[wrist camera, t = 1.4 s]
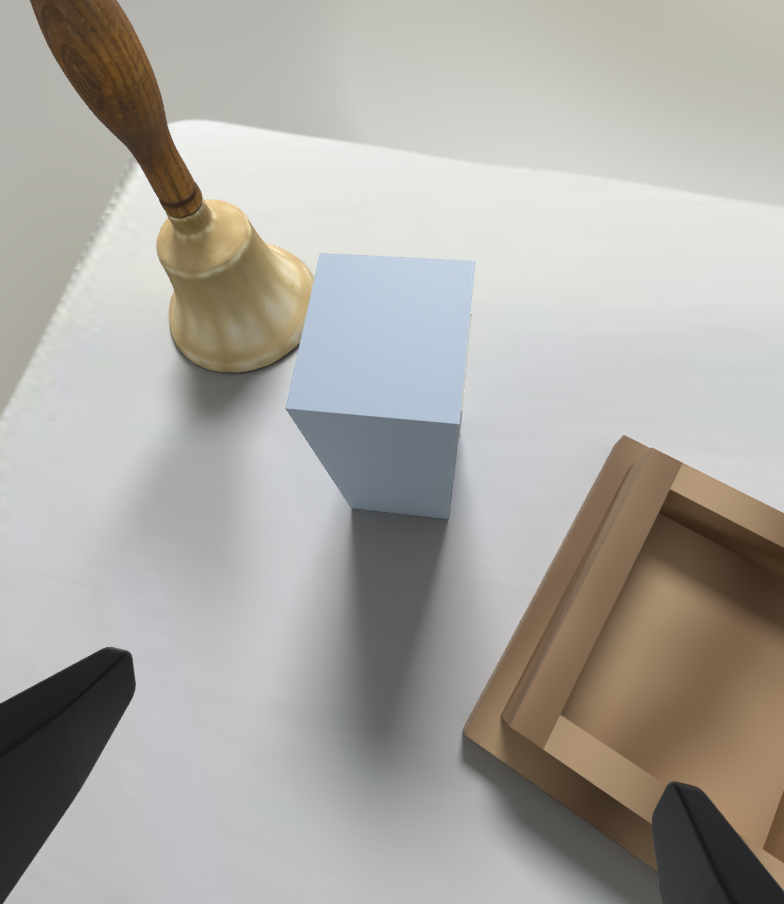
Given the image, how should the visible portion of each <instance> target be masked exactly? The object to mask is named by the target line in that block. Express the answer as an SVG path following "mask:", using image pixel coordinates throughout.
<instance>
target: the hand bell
mask: <svg viewBox="0 0 784 904" xmlns="http://www.w3.org/2000/svg"><path fill="white" fill-rule="evenodd" d="M30 2H31V4H32V7H33V10H34V12H35V15H36V18H37V21H38V23H39V26H40V28H41V31H42V33H43V35H44V37H45V40H46V42H47V44H48V46H49V48H50V50H51V52H52V54H53V56H54V57H55V59H56V61H57V62H58V64H59V65H60V67H61V69H62V70H63V72H64V74H65V75H66V77H67V78H68V79H69V81H70V83H71V84H72V86H73V87H74V89H75V90H76V91H77V93H78V94H79V95H80V97H81V98H82V99H83V101H84V102H85V103H86V105H87V106H88V107H89V109H90V110H91V111H92V112H93V113H94V115H95V116H96V117H97V118H98V119H99V120H100V121H101V122H102V123H103V124H104V125H105V126H106V127H107V128H108V129H109V130H110V131H111V132H112V133H113V134H114V135H115V136H116V137H117V138H118V139H119V140H120V141H121V142H122V143H123V144H125V146H127V148H128V149H129V150H130V152H131V153H132V154H133V156H134V157H135V158H136V160H137V162H138V163H139V165H140V166H141V168H142V170H143V172H144V174H145V175H146V177H147V179H148V181H149V183H150V184H151V186H152V188H153V190H154V192H155V193H156V195H157V196H158V198H159V201H160V203H161V205H162V207H163V208H164V210H165V211H166V214H167V216H168V219H167V220H166V221H165V223H164V224H163V226H162V227H161V229H160V232H159V235H158V238H157V246H156V247H157V254H158V257H159V260H160V262H161V264H162V266H163V268H164V269H165V271H166V273H167V275H168V277H169V279H170V281H171V283H172V285H173V288H174V293H173V295H172V298H171V302H170V307H169V324H170V330H171V335H172V337H173V339H174V342H175V344H176V345H177V347H178V348H179V349H180V351H181V352H182V353H183V354H184V355H185V356H186V357H187V358H188V359H189V360H191V361H192V362H194V363H195V364H197V365H199V366H201V367H203V368H206V369H208V370H212V371H217V372H229V373H232V372H239V373H240V372H246V371H251V370H255V369H258V368H261V367H265V366H267V365H270V364H272V363H274V362H275V361H277V360H279V359H280V358H282V357H283V356H285V355H286V354H287V353H289V352H290V351H291V350H292V349H294V348H295V347H296V346H297V345H298V344H299V343H300V341H301V336H302V332H303V327H304V323H305V318H306V314H307V309H308V305H309V301H310V296H311V292H312V287H313V283H314V278H313V276H312V274H311V272H310V271H309V269H308V268H307V266H306V265H305V264H304V263H303V262H302V261H301V260H300V259H299V258H297V257H296V256H294V255H293V254H292V253H290V252H288V251H286V250H284V249H282V248H280V247H277V246H274V245H270V244H265V242H264V241H263V240H262V239H261V238H260V236H259V235H258V234H257V232H256V231H255V229H254V228H253V226H252V225H251V223H250V221H249V219H248V218H247V216H246V215H245V214H244V213H243V212H242V211H241V210H240V209H239V208H237V207H236V206H234V205H232V204H230V203H227V202H224V201H220V200H204V199H203V198H202V193H201V190H200V189H199V187H198V185H197V184H196V183H195V182H194V180H193V178H192V176H191V174H190V172H189V170H188V169H187V167H186V165H185V163H184V161H183V160H182V158H181V156H180V154H179V153H178V151H177V149H176V147H175V145H174V143H173V140H172V138H171V135H170V132H169V129H168V126H167V121H166V116H165V111H164V105H163V101H162V97H161V93H160V90H159V87H158V84H157V81H156V78H155V75H154V72H153V69H152V67H151V65H150V62H149V60H148V58H147V56H146V53H145V51H144V49H143V47H142V44H141V42H140V40H139V38H138V36H137V34H136V32H135V30H134V28H133V26H132V24H131V23H130V21H129V19H128V18H127V16H126V14H125V13H124V11H123V10H122V8H121V7H120V5H119V3H118V2H117V0H30Z"/></svg>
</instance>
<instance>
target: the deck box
mask: <svg viewBox="0 0 784 904" xmlns="http://www.w3.org/2000/svg"><path fill="white" fill-rule="evenodd" d="M474 270H475V261H463V260H443V259H424V258H405V257H385V256H366V255H347V254H327V253H320V256H319V260H318V265H317V269H316V274H315V278H314V283H313V287H312V292H311V296H310V301H309V305H308V309H307V314H306V318H305V323H304V327H303V332H302V336H301V341H300V345H299V350H298V354H297V359H296V363H295V368H294V372H293V377H292V381H291V386H290V390H289V395H288V399H287V404H286V410H287V411H288V413H289V414H290V416H291V417H292V419H293V421H294V422H295V424H296V425H297V427H298V428H299V430H300V431H301V433H302V434H303V436H304V437H305V439H306V440H307V442H308V443H309V445H310V446H311V448H312V449H313V451H314V452H315V454H316V455H317V457H318V458H319V460H320V461H321V463H322V464H323V466H324V468H325V469H326V471H327V472H328V474H329V475H330V477H331V478H332V480H333V481H334V483H335V484H336V486H337V487H338V489H339V490H340V492H341V493H342V495H343V496H344V498H345V499H346V501H347V502H348V504H349V505H350V507H351V508H352V509H361V510H370V511H379V512H387V513H396V514H405V515H414V516H423V517H431V518H440V519H449V512H450V504H451V495H452V486H453V478H454V469H455V460H456V451H457V443H458V438H459V435H460V427H461V419H462V410H463V400H464V389H465V379H466V368H467V358H468V347H469V337H470V326H471V316H472V314H470V312H471V301H472V291H473V280H474Z"/></svg>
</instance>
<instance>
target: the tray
mask: <svg viewBox="0 0 784 904" xmlns="http://www.w3.org/2000/svg"><path fill="white" fill-rule="evenodd" d="M463 731H464V734H465V735H466V736H467V737H468V738H470V739H471V740H473V741H474V742H475V743H477V744H478V745H480V746H481V747H483V748H484V749H485V750H487V751H488V752H490V753H491V754H492V755H494V756H495V757H497V758H498V759H499V760H501V761H502V762H504V763H505V764H506V765H508V766H509V767H511V768H512V769H513V770H515V771H516V772H518V773H519V774H520V775H522V776H523V777H525V778H526V779H528V780H529V781H530V782H532V783H533V784H535V785H536V786H537V787H539V788H540V789H542V790H543V791H544V792H546V793H547V794H549V795H550V796H551V797H553V798H554V799H556V800H557V801H558V802H560V803H561V804H563V805H564V806H565V807H567V808H568V809H570V810H571V811H572V812H574V813H575V814H577V815H578V816H580V817H581V818H582V819H584V820H585V821H587V822H588V823H589V824H591V825H592V826H594V827H595V828H596V829H598V830H599V831H601V832H602V833H603V834H605V835H606V836H608V837H609V838H610V839H612V840H613V841H615V842H616V843H617V844H619V845H620V846H622V847H623V848H624V849H626V850H627V851H629V852H630V853H632V854H633V855H634V856H636V857H637V858H639V859H640V860H641V861H643V862H644V863H646V864H647V865H648V866H650V867H651V868H653V869H654V870H655V871H657V864H656V857H655V849H654V842H653V835H652V815H653V812H654V809H655V807H656V806H657V804H658V802H659V800H660V798H661V796H662V794H663V792H664V790H665V788H666V786H667V785H668V783H670V782H672V781H677V782H681V783H685V784H689V785H694V786H696V787H698V788H700V789H701V790H702V791H704V792H705V794H706V795H707V796H708V797H709V798H710V800H711V801H712V802H713V803H714V805H715V806H716V807H717V808H718V810H719V811H720V812H721V813H722V815H723V816H724V817H725V818H726V819H727V821H728V822H729V823H730V824H731V826H732V827H733V828H734V829H735V831H736V832H737V833H738V834H739V836H740V837H741V838H742V839H743V841H744V842H745V843H746V844H747V845H748V847H749V848H750V849H751V850H752V852H753V853H754V854H755V855H756V857H757V858H758V859H759V860H760V862H761V863H762V864H763V865H764V867H765V868H766V869H767V870H768V872H769V873H770V874H771V875H772V876H773V878H774V879H775V880H776V881H777V883H778V884H779V885H780V886H781V888H782V889H783V890H784V513H782V512H780V511H778V510H776V509H774V508H772V507H770V506H768V505H766V504H764V503H762V502H760V501H758V500H756V499H754V498H752V497H750V496H748V495H746V494H744V493H742V492H740V491H738V490H736V489H734V488H732V487H730V486H728V485H726V484H724V483H722V482H720V481H718V480H716V479H714V478H712V477H710V476H708V475H706V474H704V473H702V472H700V471H698V470H696V469H694V468H692V467H690V466H688V465H686V464H684V463H682V462H680V461H678V460H676V459H674V458H672V457H670V456H668V455H666V454H664V453H662V452H660V451H658V450H656V449H654V448H649V447H647V446H645V445H643V444H641V443H639V442H637V441H635V440H633V439H631V438H629V437H627V436H625V435H623V437H622V438H621V439H620V440H619V441H618V442H617V443H616V444H615V445H614V447H613V449H612V451H611V453H610V455H609V456H608V458H607V460H606V462H605V464H604V466H603V468H602V470H601V471H600V473H599V475H598V477H597V479H596V481H595V483H594V485H593V486H592V488H591V490H590V492H589V494H588V496H587V498H586V500H585V501H584V503H583V505H582V507H581V509H580V511H579V513H578V515H577V516H576V518H575V520H574V522H573V524H572V526H571V528H570V530H569V531H568V533H567V535H566V537H565V539H564V541H563V543H562V545H561V546H560V548H559V550H558V552H557V554H556V556H555V558H554V559H553V561H552V563H551V565H550V567H549V569H548V571H547V573H546V574H545V576H544V578H543V580H542V582H541V584H540V586H539V588H538V589H537V591H536V593H535V595H534V597H533V599H532V601H531V603H530V604H529V606H528V608H527V610H526V612H525V614H524V616H523V618H522V619H521V621H520V623H519V625H518V627H517V629H516V631H515V633H514V634H513V636H512V638H511V640H510V642H509V644H508V646H507V648H506V649H505V651H504V653H503V655H502V657H501V659H500V661H499V663H498V664H497V666H496V668H495V670H494V672H493V674H492V676H491V678H490V679H489V681H488V683H487V685H486V687H485V689H484V691H483V693H482V694H481V696H480V698H479V700H478V702H477V704H476V706H475V707H474V709H473V711H472V713H471V715H470V717H469V719H468V721H467V722H466V724H465V726H464V728H463ZM657 872H658V871H657Z"/></svg>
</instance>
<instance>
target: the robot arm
mask: <svg viewBox="0 0 784 904" xmlns="http://www.w3.org/2000/svg"><path fill="white" fill-rule="evenodd" d="M135 687H136V682H135V674H134V666H133V658H132V655H131V653H130V652H129V651H127V650H123V649H118V648H114V647H106V648H103V649H101V650H99V651H97V652H95V653H93V654H92V655H90V656H88V657H86V658H84V659H82V660H80V661H79V662H77V663H75V664H73V665H71V666H69V667H67V668H65V669H64V670H62V671H60V672H58V673H56V674H54V675H52V676H51V677H49V678H47V679H45V680H43V681H41V682H39V683H38V684H36V685H34V686H32V687H30V688H28V689H26V690H24V691H23V692H21V693H19V694H17V695H15V696H13V697H11V698H10V699H8V700H6V701H4V702H2V703H0V904H3V903H4V901H5V900H6V898H7V897H8V895H9V894H10V892H11V891H12V890H13V888H14V887H15V885H16V884H17V882H18V881H19V879H20V878H21V876H22V875H23V873H24V872H25V871H26V869H27V868H28V866H29V865H30V863H31V862H32V860H33V859H34V857H35V856H36V854H37V853H38V852H39V850H40V849H41V847H42V846H43V844H44V843H45V841H46V840H47V838H48V837H49V835H50V834H51V832H52V831H53V830H54V828H55V827H56V825H57V824H58V822H59V821H60V819H61V818H62V816H63V815H64V813H65V812H66V811H67V809H68V808H69V806H70V805H71V803H72V802H73V800H74V799H75V797H76V796H77V794H78V792H79V791H80V789H81V788H82V786H83V784H84V783H85V781H86V779H87V778H88V776H89V774H90V772H91V771H92V769H93V767H94V765H95V764H96V762H97V760H98V758H99V756H100V755H101V753H102V751H103V749H104V748H105V746H106V744H107V742H108V741H109V739H110V737H111V735H112V733H113V732H114V730H115V728H116V726H117V725H118V723H119V721H120V719H121V717H122V716H123V714H124V712H125V710H126V709H127V707H128V705H129V703H130V701H131V699H132V697H133V695H134V692H135ZM652 835H653V842H654V849H655V857H656V864H657V871H658V878H659V886H660V893H661V900H662V904H784V890H783V889H782V888H781V886H780V885H779V884H778V883H777V881H776V880H775V879H774V878H773V876H772V875H771V874H770V873H769V872H768V870H767V869H766V868H765V867H764V865H763V864H762V863H761V862H760V860H759V859H758V858H757V857H756V855H755V854H754V853H753V852H752V850H751V849H750V848H749V847H748V845H747V844H746V843H745V842H744V841H743V839H742V838H741V837H740V836H739V834H738V833H737V832H736V831H735V829H734V828H733V827H732V826H731V824H730V823H729V822H728V821H727V819H726V818H725V817H724V816H723V815H722V813H721V812H720V811H719V810H718V808H717V807H716V806H715V805H714V803H713V802H712V801H711V800H710V798H709V797H708V796H707V795H706V794H705V792H704V791H702V790H701V789H700V788H698V787H696V786H694V785H689V784H685V783H681V782H677V781H672V782H670V783H668V785H667V786H666V788H665V790H664V792H663V794H662V796H661V798H660V800H659V802H658V804H657V806H656V807H655V809H654V812H653V815H652Z"/></svg>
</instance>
